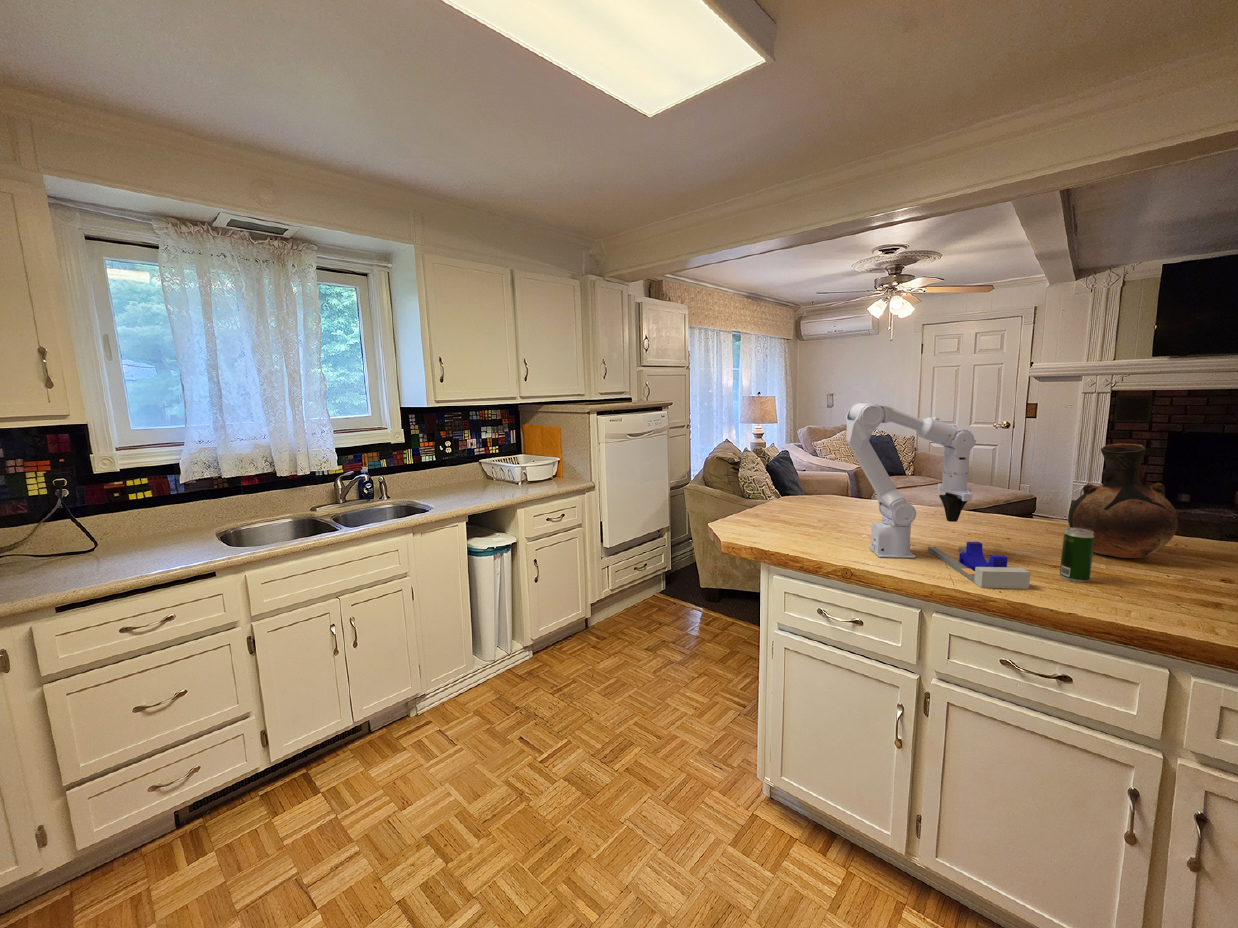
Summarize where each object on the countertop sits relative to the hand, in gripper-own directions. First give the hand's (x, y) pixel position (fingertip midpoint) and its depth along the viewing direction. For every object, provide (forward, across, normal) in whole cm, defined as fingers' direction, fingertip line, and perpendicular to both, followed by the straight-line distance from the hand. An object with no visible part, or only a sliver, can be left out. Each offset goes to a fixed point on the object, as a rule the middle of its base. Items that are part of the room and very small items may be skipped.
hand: (951, 521), depth 139 cm
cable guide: (+9, -11, -1) cm, 14 cm away
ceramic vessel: (+10, +1, -41) cm, 42 cm away
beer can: (+10, -17, -20) cm, 28 cm away
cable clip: (+10, -13, -1) cm, 17 cm away
